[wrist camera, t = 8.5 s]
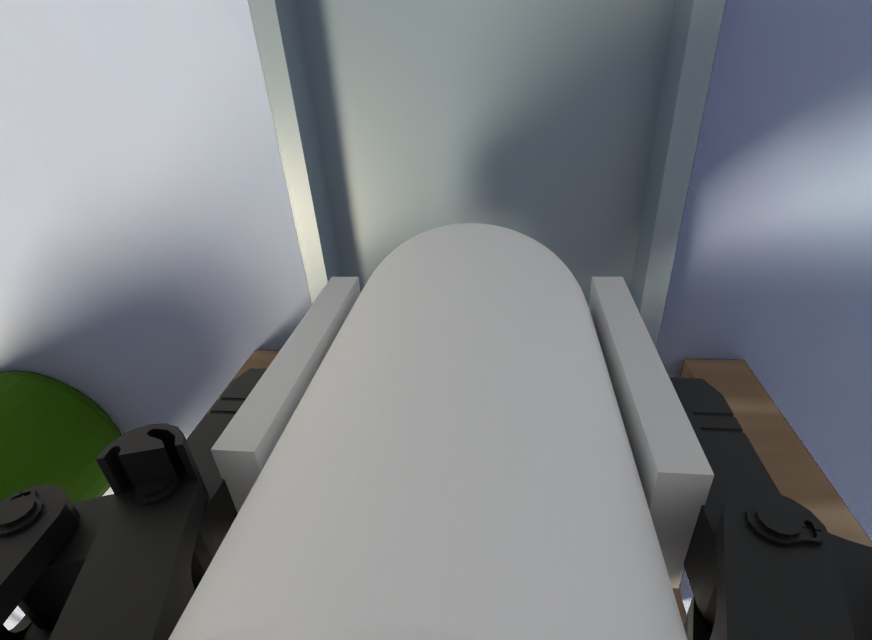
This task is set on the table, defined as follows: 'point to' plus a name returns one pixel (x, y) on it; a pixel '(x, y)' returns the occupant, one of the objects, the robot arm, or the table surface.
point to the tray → (490, 127)
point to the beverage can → (449, 471)
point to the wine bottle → (51, 437)
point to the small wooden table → (763, 430)
